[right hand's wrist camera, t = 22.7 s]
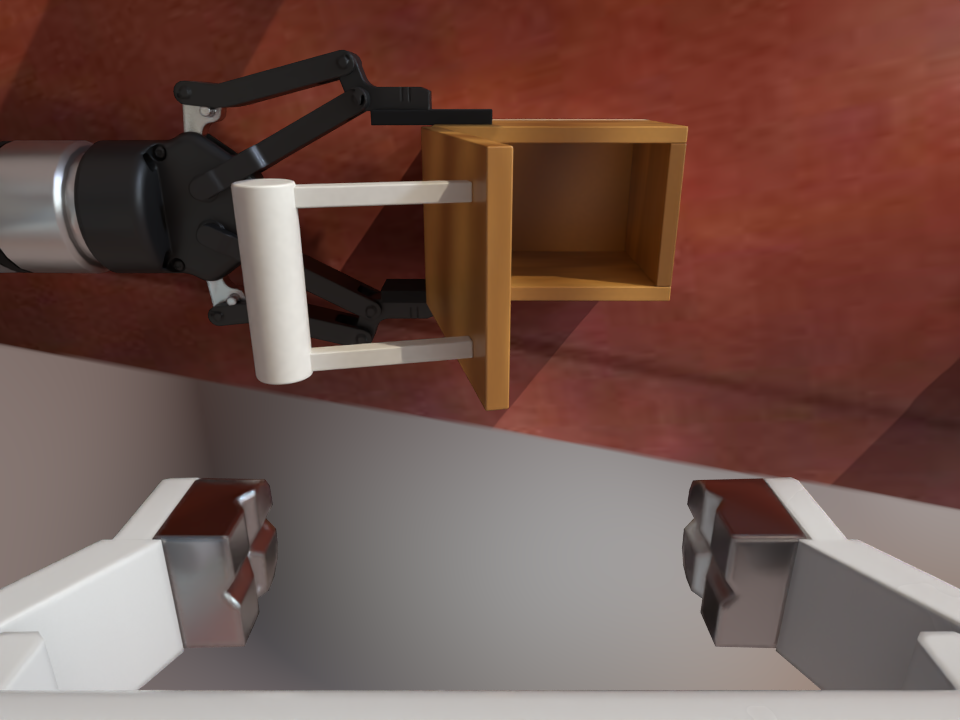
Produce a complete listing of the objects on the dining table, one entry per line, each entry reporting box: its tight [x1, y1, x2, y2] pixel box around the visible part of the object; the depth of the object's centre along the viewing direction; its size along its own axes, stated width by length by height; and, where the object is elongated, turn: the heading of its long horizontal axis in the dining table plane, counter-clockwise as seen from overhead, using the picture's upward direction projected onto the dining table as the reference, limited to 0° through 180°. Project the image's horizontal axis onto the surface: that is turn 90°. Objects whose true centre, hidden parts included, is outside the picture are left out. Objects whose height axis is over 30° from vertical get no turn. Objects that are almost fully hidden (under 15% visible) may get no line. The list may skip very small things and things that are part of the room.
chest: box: [431, 119, 688, 301], centre depth 41 cm, size 13×9×10 cm
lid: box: [231, 127, 513, 411], centre depth 28 cm, size 14×9×9 cm
